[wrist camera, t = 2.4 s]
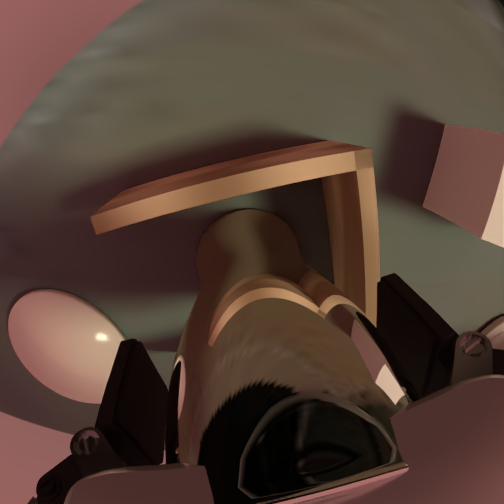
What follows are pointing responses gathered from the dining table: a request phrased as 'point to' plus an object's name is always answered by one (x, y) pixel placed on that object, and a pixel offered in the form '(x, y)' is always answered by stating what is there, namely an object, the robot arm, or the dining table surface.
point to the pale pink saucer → (64, 343)
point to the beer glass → (280, 375)
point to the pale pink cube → (470, 181)
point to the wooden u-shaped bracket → (272, 175)
